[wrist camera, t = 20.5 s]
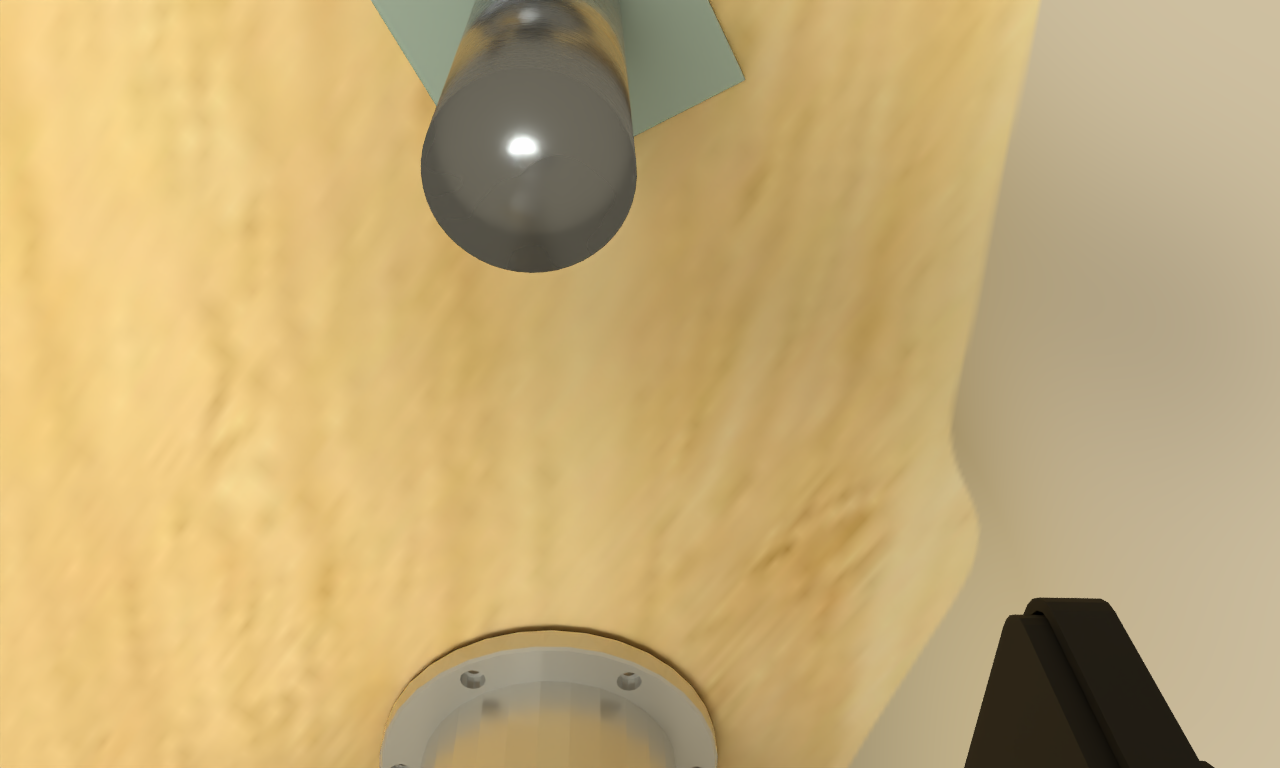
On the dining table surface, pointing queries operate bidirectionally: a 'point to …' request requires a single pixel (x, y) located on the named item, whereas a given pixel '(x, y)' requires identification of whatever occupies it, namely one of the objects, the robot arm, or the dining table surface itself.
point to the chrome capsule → (533, 134)
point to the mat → (653, 38)
